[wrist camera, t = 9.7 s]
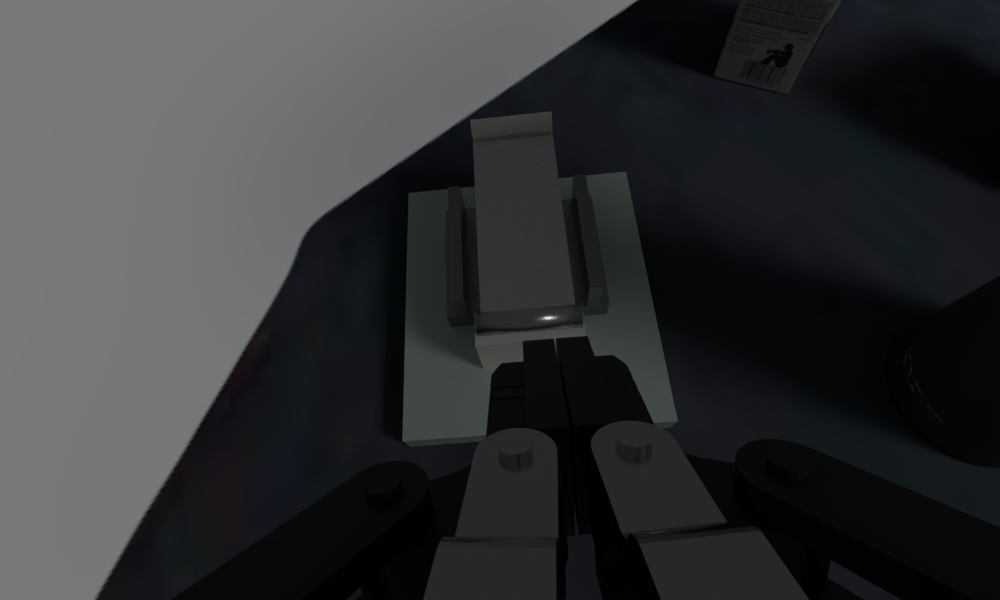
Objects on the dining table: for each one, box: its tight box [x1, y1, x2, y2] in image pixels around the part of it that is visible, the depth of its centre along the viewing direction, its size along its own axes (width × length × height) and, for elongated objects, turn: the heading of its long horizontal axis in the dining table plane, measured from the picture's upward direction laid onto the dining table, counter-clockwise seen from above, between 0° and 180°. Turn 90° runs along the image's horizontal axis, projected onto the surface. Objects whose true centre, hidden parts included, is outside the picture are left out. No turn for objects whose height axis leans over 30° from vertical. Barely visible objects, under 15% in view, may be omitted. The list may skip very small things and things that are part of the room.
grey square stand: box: [402, 112, 677, 447], centre depth 31 cm, size 16×18×8 cm
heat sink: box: [445, 174, 609, 327], centre depth 32 cm, size 10×8×4 cm
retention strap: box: [473, 135, 583, 337], centre depth 29 cm, size 6×1×13 cm
